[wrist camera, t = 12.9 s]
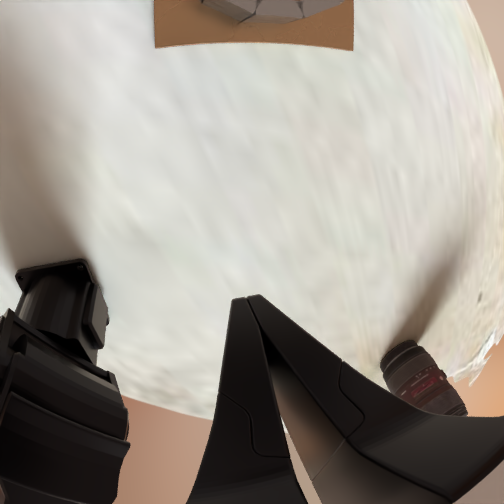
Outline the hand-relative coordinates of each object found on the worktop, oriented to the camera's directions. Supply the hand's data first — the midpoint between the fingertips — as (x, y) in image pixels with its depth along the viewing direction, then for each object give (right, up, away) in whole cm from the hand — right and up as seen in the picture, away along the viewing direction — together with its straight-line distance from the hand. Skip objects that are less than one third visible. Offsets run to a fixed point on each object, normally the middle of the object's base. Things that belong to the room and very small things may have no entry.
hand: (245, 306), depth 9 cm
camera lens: (+22, -14, +32) cm, 42 cm away
